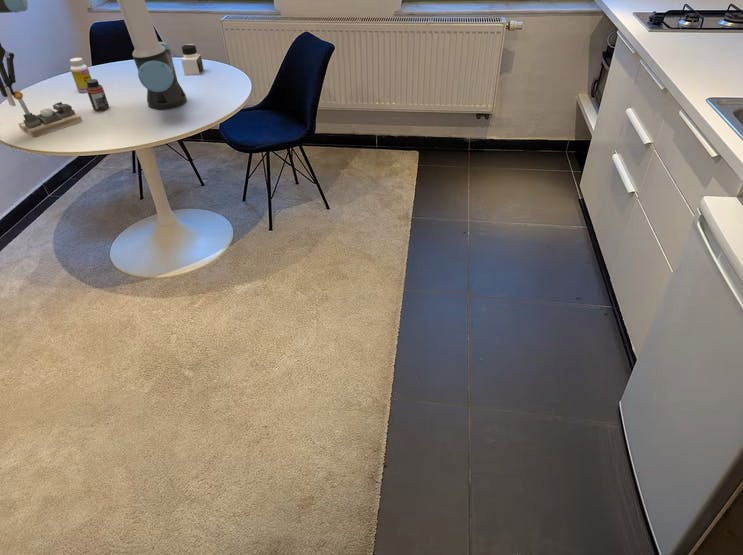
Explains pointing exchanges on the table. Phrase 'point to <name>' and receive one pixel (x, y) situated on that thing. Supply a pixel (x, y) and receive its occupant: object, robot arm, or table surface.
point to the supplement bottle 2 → (97, 95)
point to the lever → (21, 102)
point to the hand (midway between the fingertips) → (12, 105)
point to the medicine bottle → (191, 60)
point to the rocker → (58, 107)
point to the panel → (49, 121)
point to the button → (46, 113)
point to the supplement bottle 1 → (80, 74)
